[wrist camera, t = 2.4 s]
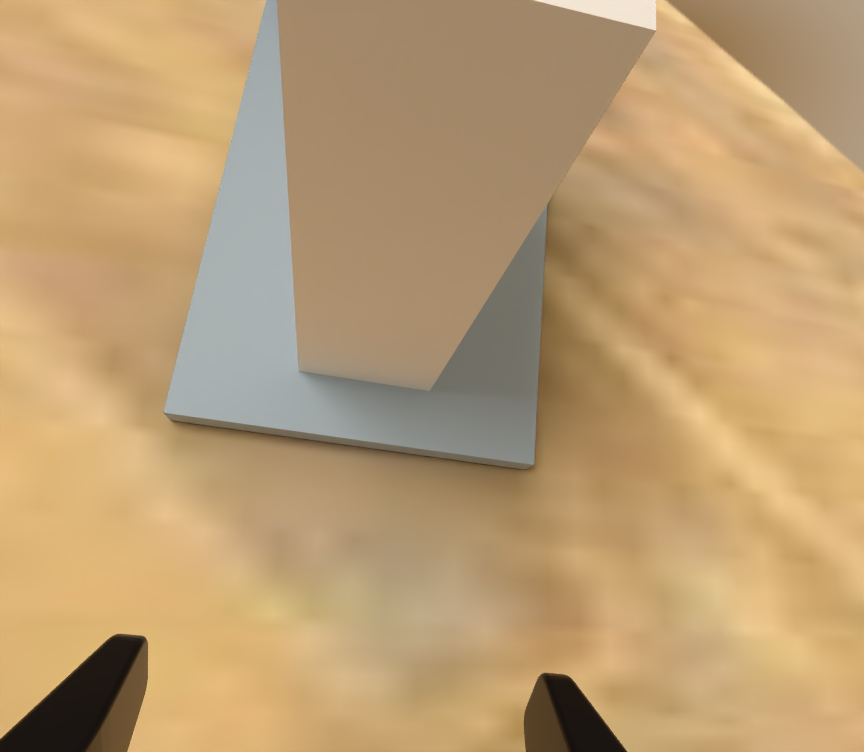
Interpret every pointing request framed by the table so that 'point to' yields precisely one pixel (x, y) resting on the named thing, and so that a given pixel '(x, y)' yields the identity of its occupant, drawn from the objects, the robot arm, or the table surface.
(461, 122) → the panel
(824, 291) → the table surface
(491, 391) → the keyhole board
